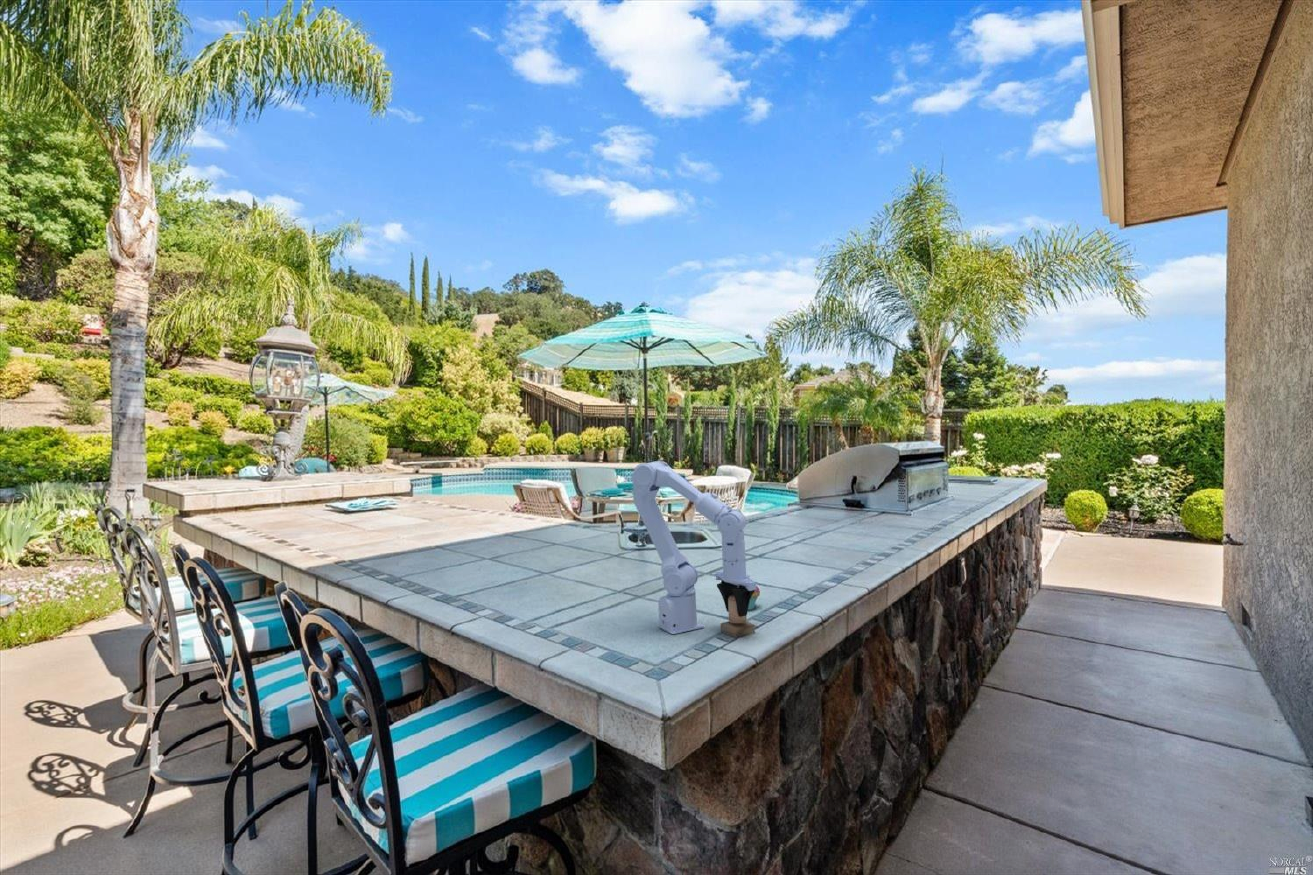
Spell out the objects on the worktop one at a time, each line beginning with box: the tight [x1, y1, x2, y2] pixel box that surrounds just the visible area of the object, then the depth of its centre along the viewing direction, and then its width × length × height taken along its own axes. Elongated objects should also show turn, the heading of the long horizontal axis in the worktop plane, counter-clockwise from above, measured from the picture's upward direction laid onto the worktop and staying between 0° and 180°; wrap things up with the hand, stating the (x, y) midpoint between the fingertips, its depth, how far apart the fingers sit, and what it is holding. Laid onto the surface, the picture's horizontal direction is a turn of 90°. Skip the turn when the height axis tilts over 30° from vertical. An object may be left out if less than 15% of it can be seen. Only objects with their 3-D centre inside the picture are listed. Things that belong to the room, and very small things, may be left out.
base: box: [720, 620, 756, 639], centre depth 144 cm, size 6×6×2 cm
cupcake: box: [737, 585, 761, 611], centre depth 164 cm, size 9×8×12 cm
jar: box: [728, 595, 748, 623], centre depth 144 cm, size 4×4×6 cm
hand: (736, 613), depth 144 cm, fingers closed on jar, 4 cm apart
